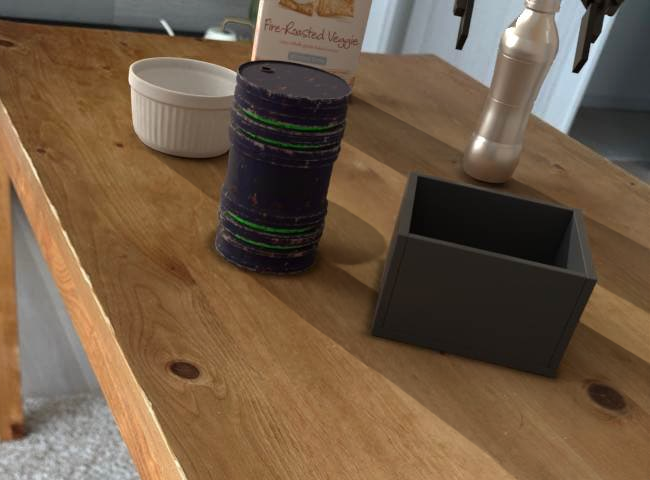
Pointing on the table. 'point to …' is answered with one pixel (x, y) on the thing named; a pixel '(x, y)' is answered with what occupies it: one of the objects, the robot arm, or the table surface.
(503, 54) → the silver metal bottle
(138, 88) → the ramekin
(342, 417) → the table surface
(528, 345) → the bin
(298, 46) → the cracker box
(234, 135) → the storage jar
